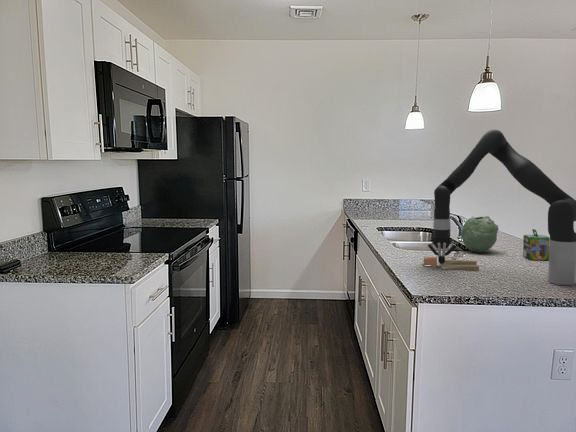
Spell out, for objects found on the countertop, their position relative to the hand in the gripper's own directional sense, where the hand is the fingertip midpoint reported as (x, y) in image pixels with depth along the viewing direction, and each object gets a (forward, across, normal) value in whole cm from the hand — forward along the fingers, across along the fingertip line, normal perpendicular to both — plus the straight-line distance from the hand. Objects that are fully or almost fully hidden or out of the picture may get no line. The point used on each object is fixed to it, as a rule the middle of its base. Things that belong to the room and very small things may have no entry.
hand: (441, 263), depth 198 cm
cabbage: (+2, +20, +36) cm, 41 cm away
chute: (+1, +8, 0) cm, 8 cm away
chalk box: (+2, +45, +25) cm, 51 cm away
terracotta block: (+2, -5, 0) cm, 5 cm away
